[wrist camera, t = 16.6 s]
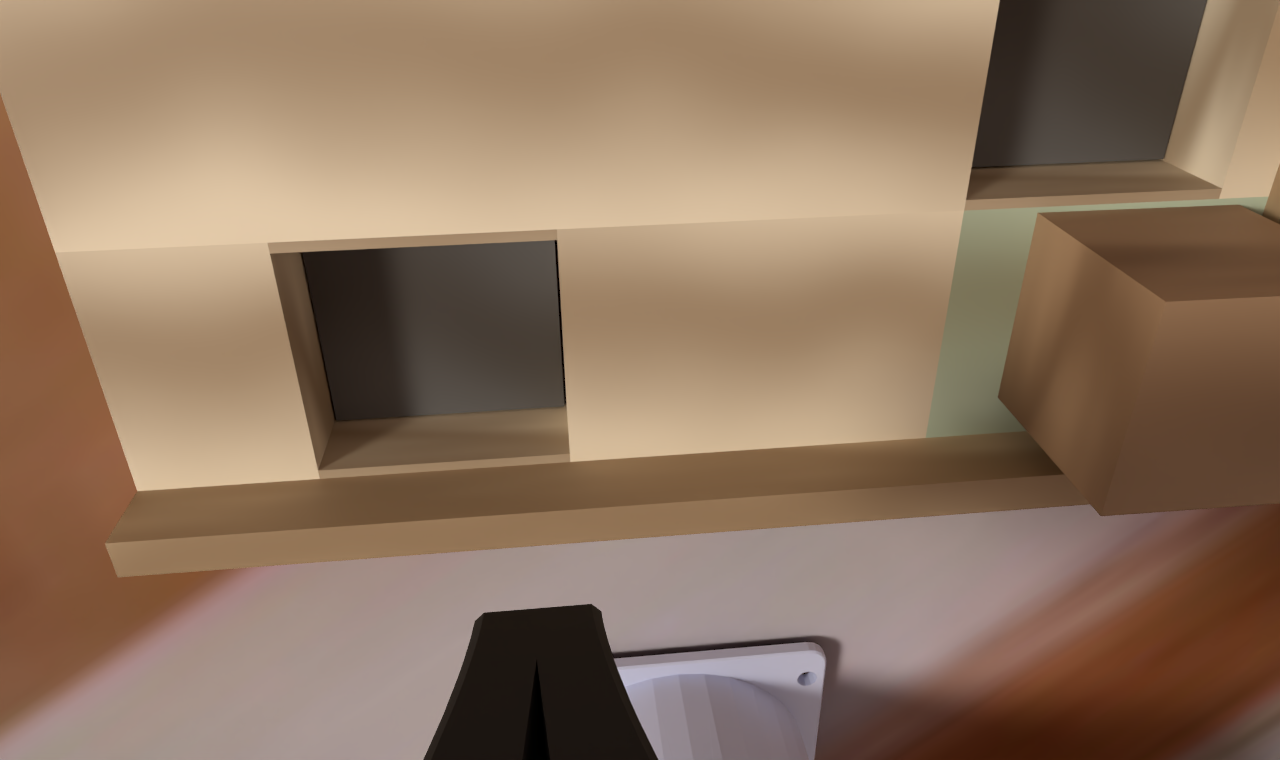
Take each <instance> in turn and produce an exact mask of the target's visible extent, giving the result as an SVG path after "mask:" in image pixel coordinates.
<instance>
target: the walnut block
mask: <svg viewBox="0 0 1280 760" xmlns="http://www.w3.org/2000/svg"><path fill="white" fill-rule="evenodd" d="M998 398H999V400H1000V401H1001V402H1002V403H1003V404H1004V405H1005V406H1006V408H1007V409H1008V410H1009V411H1010V412H1011V413H1012V415H1013V416H1014V417H1015V418H1016V419H1017V420H1018V421H1019V423H1020V424H1021V425H1022V426H1023V427H1024V428H1025V429H1026V431H1027V432H1028V433H1029V434H1030V435H1031V436H1032V438H1033V439H1034V440H1035V441H1036V442H1037V443H1038V444H1039V446H1040V447H1041V448H1042V449H1043V450H1044V451H1045V452H1046V454H1047V455H1048V456H1049V457H1050V458H1051V459H1052V461H1053V462H1054V463H1055V464H1056V465H1057V466H1058V467H1059V469H1060V470H1061V471H1062V472H1063V473H1064V474H1065V475H1066V477H1067V478H1068V479H1069V480H1070V481H1071V482H1072V483H1073V485H1074V486H1075V487H1076V488H1077V489H1078V490H1079V492H1080V493H1081V494H1082V495H1083V496H1084V497H1085V498H1086V500H1087V501H1088V502H1089V503H1090V504H1091V505H1092V506H1093V508H1094V509H1095V510H1096V511H1097V512H1098V513H1099V515H1100V516H1110V515H1124V514H1138V513H1152V512H1166V511H1180V510H1194V509H1208V508H1222V507H1236V506H1250V505H1264V504H1278V503H1280V224H1278V223H1276V222H1274V221H1271V220H1269V219H1267V218H1265V217H1263V216H1261V215H1259V214H1257V213H1255V212H1253V211H1251V210H1249V209H1247V208H1245V207H1243V206H1241V205H1215V206H1190V207H1166V208H1141V209H1117V210H1092V211H1067V212H1043V213H1037V218H1036V223H1035V227H1034V232H1033V236H1032V241H1031V246H1030V250H1029V255H1028V259H1027V264H1026V269H1025V273H1024V278H1023V283H1022V287H1021V292H1020V296H1019V301H1018V306H1017V310H1016V315H1015V319H1014V324H1013V329H1012V333H1011V338H1010V343H1009V347H1008V352H1007V356H1006V361H1005V366H1004V370H1003V375H1002V379H1001V384H1000V389H999V393H998Z"/></svg>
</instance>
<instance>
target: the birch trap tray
mask: <svg viewBox="0 0 1280 760" xmlns="http://www.w3.org/2000/svg"><path fill="white" fill-rule="evenodd" d="M0 93H1V96H2V99H3V102H4V105H5V108H6V111H7V114H8V117H9V120H10V122H11V125H12V128H13V131H14V134H15V137H16V140H17V143H18V146H19V149H20V152H21V154H22V157H23V160H24V163H25V166H26V169H27V172H28V175H29V178H30V181H31V183H32V186H33V189H34V192H35V195H36V198H37V201H38V204H39V207H40V210H41V212H42V215H43V218H44V221H45V224H46V227H47V230H48V233H49V236H50V239H51V242H52V244H53V247H54V250H55V253H56V256H57V259H58V262H59V265H60V268H61V271H62V273H63V276H64V279H65V282H66V285H67V288H68V291H69V294H70V297H71V300H72V303H73V305H74V308H75V311H76V314H77V317H78V320H79V323H80V326H81V329H82V332H83V334H84V337H85V340H86V343H87V346H88V349H89V352H90V355H91V358H92V361H93V363H94V366H95V369H96V372H97V375H98V378H99V381H100V384H101V387H102V390H103V393H104V395H105V398H106V401H107V404H108V407H109V410H110V413H111V416H112V419H113V422H114V424H115V427H116V430H117V433H118V436H119V439H120V442H121V445H122V448H123V451H124V454H125V456H126V459H127V462H128V465H129V468H130V471H131V474H132V477H133V480H134V483H135V485H136V488H137V493H136V494H135V496H134V498H133V499H132V501H131V502H130V504H129V506H128V507H127V509H126V511H125V512H124V514H123V515H122V517H121V519H120V520H119V522H118V523H117V525H116V527H115V528H114V530H113V531H112V533H111V535H110V536H109V538H108V539H107V541H106V543H105V545H106V548H107V550H108V553H109V555H110V558H111V561H112V563H113V566H114V569H115V571H116V574H117V577H128V576H141V575H154V574H168V573H181V572H194V571H208V570H221V569H234V568H247V567H261V566H274V565H287V564H301V563H314V562H327V561H341V560H354V559H367V558H381V557H394V556H407V555H421V554H434V553H447V552H460V551H474V550H487V549H500V548H514V547H527V546H540V545H554V544H567V543H580V542H594V541H607V540H620V539H633V538H647V537H660V536H673V535H687V534H700V533H713V532H727V531H740V530H753V529H767V528H780V527H793V526H806V525H820V524H833V523H846V522H860V521H873V520H886V519H900V518H913V517H926V516H940V515H953V514H966V513H980V512H993V511H1006V510H1019V509H1033V508H1046V507H1059V506H1073V505H1086V504H1090V503H1089V502H1088V501H1087V500H1086V498H1085V497H1084V496H1083V495H1082V494H1081V493H1080V492H1079V490H1078V489H1077V488H1076V487H1075V486H1074V485H1073V483H1072V482H1071V481H1070V480H1069V479H1068V478H1067V477H1066V475H1065V474H1064V473H1063V472H1062V471H1061V470H1060V469H1059V467H1058V466H1057V465H1056V464H1055V463H1054V462H1053V461H1052V459H1051V458H1050V457H1049V456H1048V455H1047V454H1046V452H1045V451H1044V450H1043V449H1042V448H1041V447H1040V446H1039V444H1038V443H1037V442H1036V441H1035V440H1034V439H1033V438H1032V436H1031V435H1030V434H1029V433H1028V432H1027V431H1026V429H1025V428H1024V427H1023V426H1022V425H1021V424H1020V423H1019V421H1018V420H1017V419H1016V418H1015V417H1014V416H1013V415H1012V413H1011V412H1010V411H1009V410H1008V409H1007V408H1006V406H1005V405H1004V404H1003V403H1002V402H1001V401H1000V400H999V398H998V393H999V389H1000V384H1001V379H1002V375H1003V370H1004V366H1005V361H1006V356H1007V352H1008V347H1009V343H1010V338H1011V333H1012V329H1013V324H1014V319H1015V315H1016V310H1017V306H1018V301H1019V296H1020V292H1021V287H1022V283H1023V278H1024V273H1025V269H1026V264H1027V259H1028V255H1029V250H1030V246H1031V241H1032V236H1033V232H1034V227H1035V223H1036V218H1037V213H1043V212H1067V211H1092V210H1117V209H1141V208H1166V207H1190V206H1215V205H1241V206H1243V207H1245V208H1247V209H1249V210H1251V211H1253V212H1255V213H1257V214H1259V215H1261V216H1263V217H1265V218H1267V219H1269V220H1271V221H1274V222H1276V223H1278V224H1280V0H0ZM555 240H557V249H558V266H559V283H560V300H561V318H562V335H563V352H564V369H565V386H566V404H564V391H563V374H562V357H561V341H560V324H559V307H558V290H557V273H556V256H555Z"/></svg>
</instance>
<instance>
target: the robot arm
mask: <svg viewBox="0 0 1280 760" xmlns="http://www.w3.org/2000/svg"><path fill="white" fill-rule="evenodd" d="M825 670H826V657H825V654H824V652H823V649H822V648H821V647H820V645H818V644H816V643H813V642H801V643H789V644H778V645H766V646H755V647H743V648H731V649H720V650H708V651H697V652H685V653H673V654H662V655H650V656H638V657H627V658H615V659H614V658H613V655H612V652H611V649H610V646H609V643H608V639H607V636H606V632H605V628H604V624H603V619H602V613H601V611H600V610H599V609H597V608H596V607H595V606H593V605H592V604H587V605H575V606H562V607H550V608H538V609H525V610H513V611H501V612H488V613H483V614H482V615H481V616H480V617H479V618H478V619H477V620H476V621H475V623H474V627H473V631H472V635H471V639H470V643H469V646H468V649H467V652H466V656H465V659H464V662H463V665H462V668H461V670H460V673H459V676H458V679H457V681H456V684H455V687H454V689H453V692H452V694H451V697H450V699H449V702H448V704H447V707H446V710H445V712H444V715H443V717H442V719H441V722H440V724H439V726H438V728H437V731H436V733H435V735H434V737H433V740H432V742H431V744H430V746H429V748H428V751H427V753H426V755H425V757H424V760H814V759H815V751H816V743H817V735H818V726H819V718H820V710H821V702H822V694H823V686H824V678H825ZM805 672H808V673H806V674H803V675H802V673H805Z"/></svg>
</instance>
